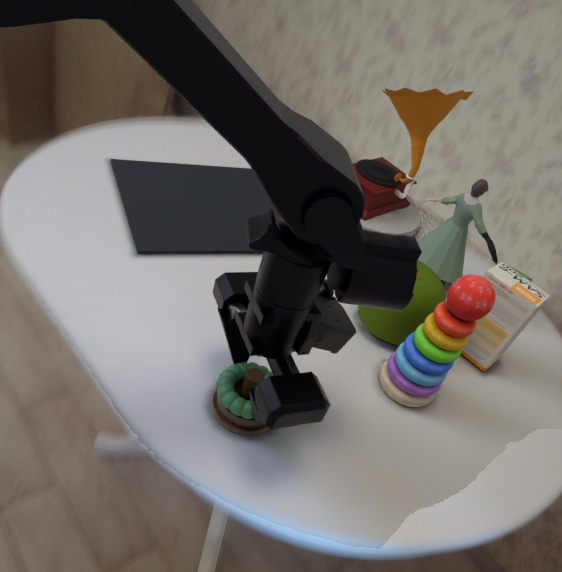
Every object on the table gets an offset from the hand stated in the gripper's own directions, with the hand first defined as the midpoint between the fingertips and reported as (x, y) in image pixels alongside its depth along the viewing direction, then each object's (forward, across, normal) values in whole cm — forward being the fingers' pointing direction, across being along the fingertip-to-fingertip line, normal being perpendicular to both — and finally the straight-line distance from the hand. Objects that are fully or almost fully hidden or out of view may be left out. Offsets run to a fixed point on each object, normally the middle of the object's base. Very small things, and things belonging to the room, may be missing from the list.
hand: (248, 394), depth 57 cm
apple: (+3, +11, -26) cm, 28 cm away
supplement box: (+3, +5, -38) cm, 38 cm away
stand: (+3, 0, 0) cm, 3 cm away
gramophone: (+3, +41, -38) cm, 56 cm away
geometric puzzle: (+3, +14, -51) cm, 53 cm away
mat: (+3, +40, -9) cm, 41 cm away
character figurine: (+3, +21, -41) cm, 46 cm away
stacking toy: (+3, 0, -23) cm, 23 cm away
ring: (0, 0, 0) cm, 0 cm away
